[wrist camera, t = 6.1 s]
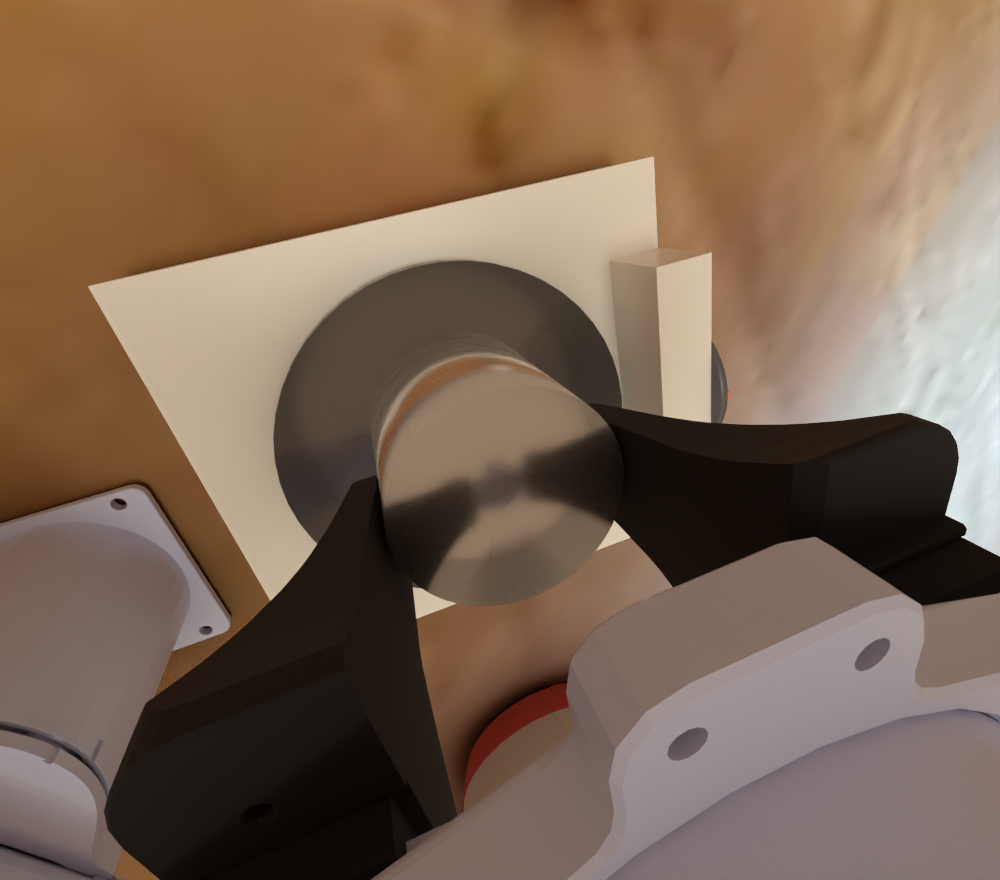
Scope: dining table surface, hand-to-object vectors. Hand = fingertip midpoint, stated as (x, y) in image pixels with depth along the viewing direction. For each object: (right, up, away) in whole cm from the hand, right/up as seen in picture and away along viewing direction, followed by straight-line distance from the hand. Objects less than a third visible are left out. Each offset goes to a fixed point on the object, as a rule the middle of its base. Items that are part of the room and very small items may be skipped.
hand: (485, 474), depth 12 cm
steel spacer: (-1, +2, +2) cm, 2 cm away
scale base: (-2, +2, +9) cm, 10 cm away
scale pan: (-1, +1, +6) cm, 6 cm away
